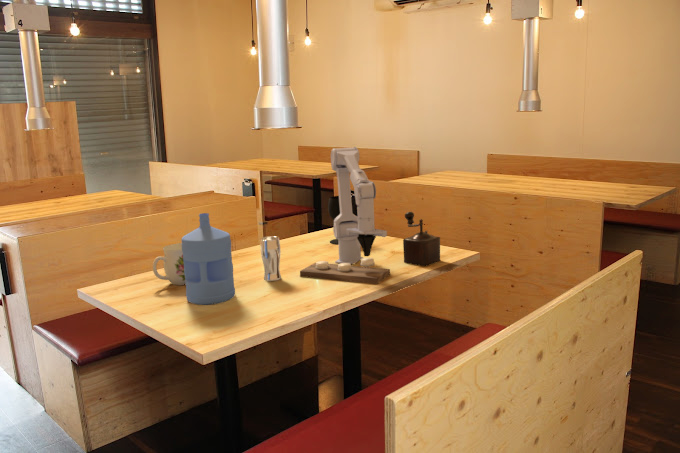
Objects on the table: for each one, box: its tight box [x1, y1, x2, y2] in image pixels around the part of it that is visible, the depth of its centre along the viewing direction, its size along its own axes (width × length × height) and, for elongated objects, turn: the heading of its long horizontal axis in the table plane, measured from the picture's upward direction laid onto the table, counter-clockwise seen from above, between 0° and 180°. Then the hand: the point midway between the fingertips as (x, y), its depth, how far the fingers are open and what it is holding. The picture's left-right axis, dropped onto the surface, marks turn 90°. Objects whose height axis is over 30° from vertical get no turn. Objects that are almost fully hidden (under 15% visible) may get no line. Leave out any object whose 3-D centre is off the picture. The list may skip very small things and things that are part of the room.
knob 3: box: [359, 257, 375, 267], centre depth 216 cm, size 5×5×2 cm
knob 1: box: [315, 260, 329, 270], centre depth 224 cm, size 5×5×2 cm
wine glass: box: [327, 195, 346, 246], centre depth 271 cm, size 10×10×20 cm
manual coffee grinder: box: [402, 211, 441, 267], centre depth 235 cm, size 16×11×18 cm
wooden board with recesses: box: [299, 262, 391, 285], centre depth 221 cm, size 12×30×2 cm, turn 64°
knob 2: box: [337, 263, 352, 272], centre depth 220 cm, size 5×5×2 cm
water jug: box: [181, 212, 236, 306], centre depth 199 cm, size 16×16×28 cm
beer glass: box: [260, 235, 282, 282], centre depth 219 cm, size 7×7×15 cm
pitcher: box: [152, 242, 186, 286], centre depth 219 cm, size 11×18×14 cm, turn 132°
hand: (367, 255), depth 215 cm, fingers closed
